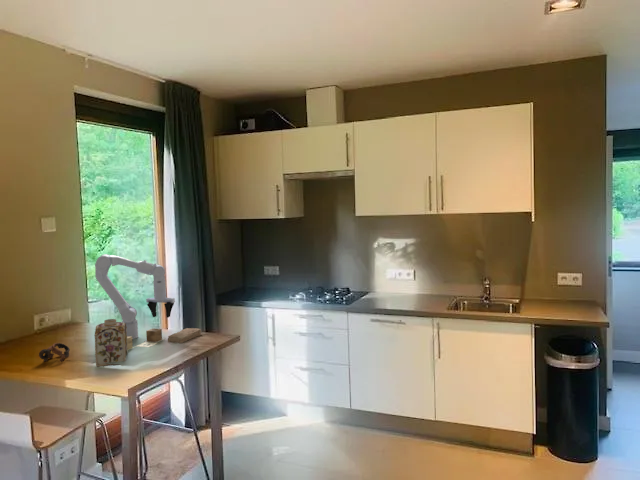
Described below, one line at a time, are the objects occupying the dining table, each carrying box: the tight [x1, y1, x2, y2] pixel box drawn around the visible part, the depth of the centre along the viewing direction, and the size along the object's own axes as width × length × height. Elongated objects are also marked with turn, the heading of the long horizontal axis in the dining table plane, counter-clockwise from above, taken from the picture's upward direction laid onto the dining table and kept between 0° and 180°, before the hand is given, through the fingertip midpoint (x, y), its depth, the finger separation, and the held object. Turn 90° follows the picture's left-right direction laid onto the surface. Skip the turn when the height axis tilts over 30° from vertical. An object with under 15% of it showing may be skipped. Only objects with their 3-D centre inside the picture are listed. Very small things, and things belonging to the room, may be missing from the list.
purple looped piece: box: [38, 342, 70, 363], centre depth 220 cm, size 12×10×8 cm
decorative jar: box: [94, 318, 129, 368], centre depth 217 cm, size 12×12×18 cm
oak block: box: [127, 336, 134, 351], centre depth 232 cm, size 5×5×5 cm
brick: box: [167, 327, 202, 344], centre depth 249 cm, size 17×8×5 cm, turn 160°
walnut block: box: [145, 327, 163, 343], centre depth 245 cm, size 5×5×5 cm
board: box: [127, 341, 158, 351], centre depth 238 cm, size 14×24×1 cm, turn 162°
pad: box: [143, 337, 165, 344], centre depth 245 cm, size 7×7×1 cm
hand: (161, 316), depth 255 cm, fingers open, 7 cm apart
